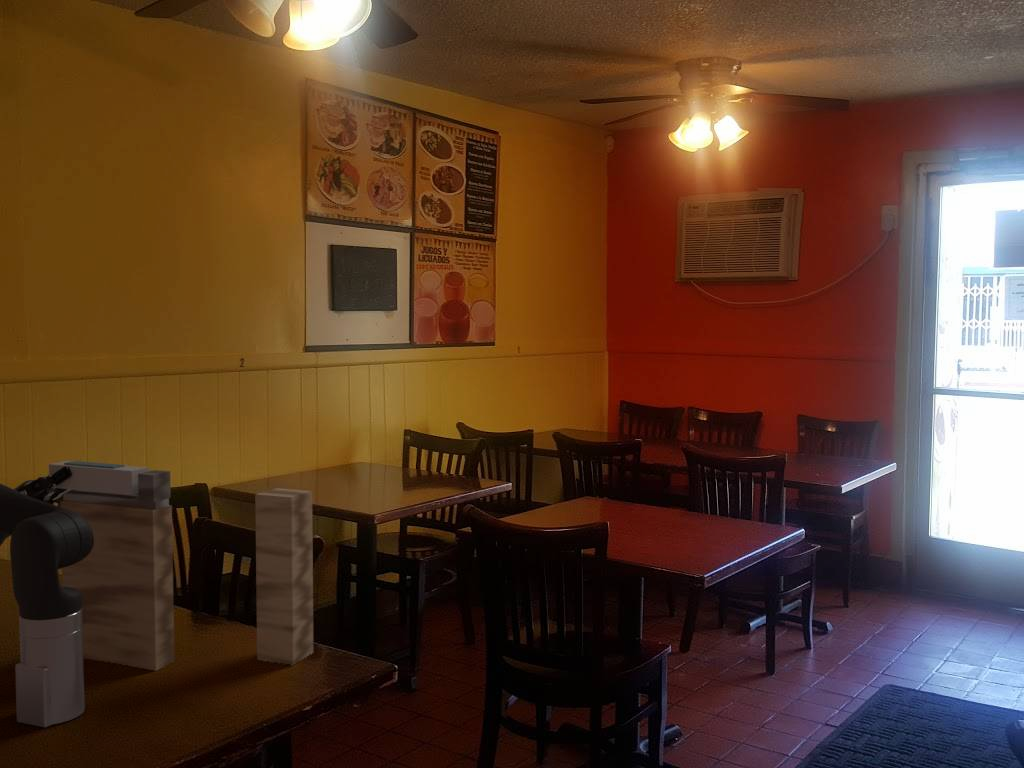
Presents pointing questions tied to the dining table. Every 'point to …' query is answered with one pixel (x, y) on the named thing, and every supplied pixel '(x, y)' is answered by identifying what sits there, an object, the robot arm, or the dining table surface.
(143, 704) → the dining table surface
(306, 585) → the stand
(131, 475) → the block
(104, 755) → the dining table surface
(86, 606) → the rail post
